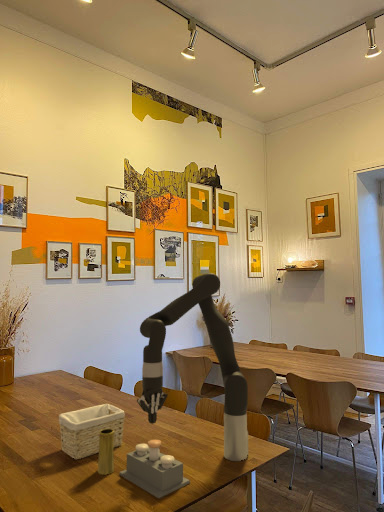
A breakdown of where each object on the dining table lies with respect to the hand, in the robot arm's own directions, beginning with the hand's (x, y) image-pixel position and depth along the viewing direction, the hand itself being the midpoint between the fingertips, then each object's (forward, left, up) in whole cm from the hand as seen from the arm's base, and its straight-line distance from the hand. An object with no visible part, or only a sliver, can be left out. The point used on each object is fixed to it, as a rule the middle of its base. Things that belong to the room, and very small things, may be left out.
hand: (152, 422), depth 137 cm
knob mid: (0, +2, -14) cm, 14 cm away
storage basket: (+2, -38, -19) cm, 42 cm away
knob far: (0, -5, -18) cm, 18 cm away
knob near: (0, +9, -18) cm, 20 cm away
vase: (+9, -15, -19) cm, 26 cm away
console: (0, +2, -19) cm, 19 cm away
